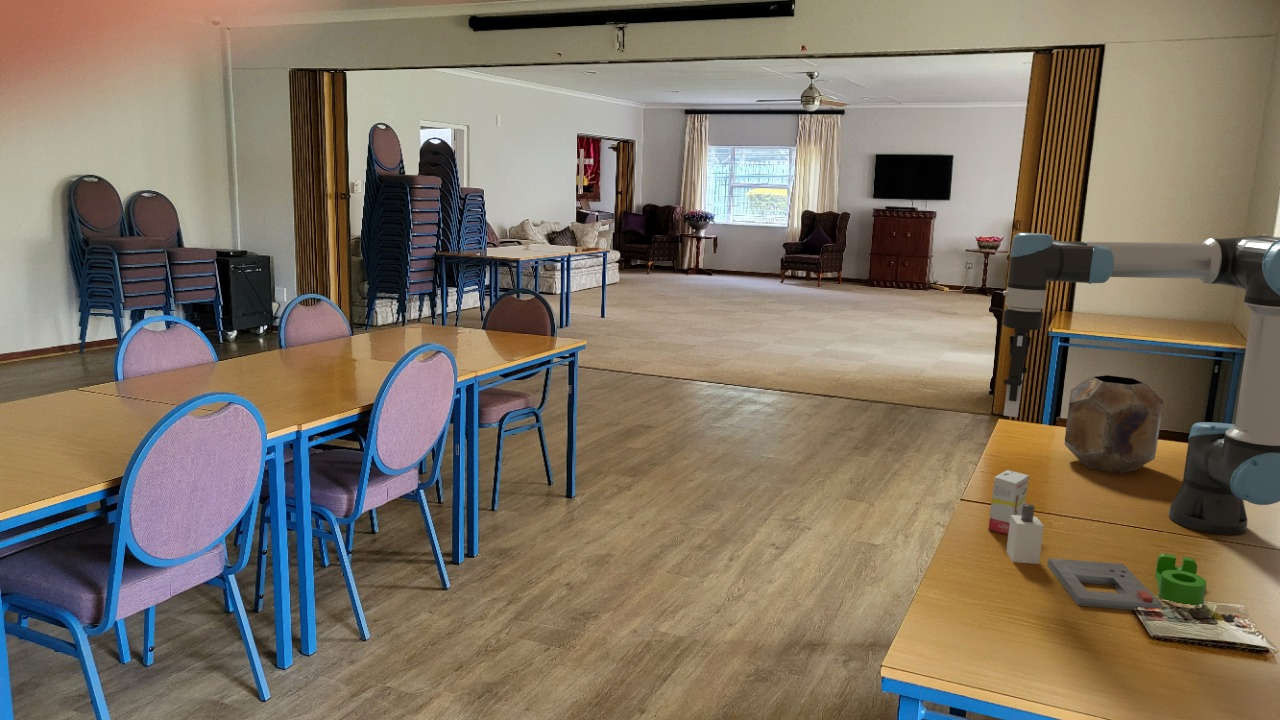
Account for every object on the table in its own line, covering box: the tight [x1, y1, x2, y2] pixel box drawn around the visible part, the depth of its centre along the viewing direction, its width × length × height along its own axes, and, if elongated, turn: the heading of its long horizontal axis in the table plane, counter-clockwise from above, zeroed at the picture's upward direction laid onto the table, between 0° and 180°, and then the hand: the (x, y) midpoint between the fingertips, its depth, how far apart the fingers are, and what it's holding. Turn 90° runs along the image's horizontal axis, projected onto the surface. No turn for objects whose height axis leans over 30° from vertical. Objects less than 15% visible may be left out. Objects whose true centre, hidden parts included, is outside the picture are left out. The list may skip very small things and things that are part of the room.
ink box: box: [987, 469, 1030, 536], centre depth 204 cm, size 9×5×12 cm, turn 139°
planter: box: [1064, 374, 1164, 474], centre depth 252 cm, size 22×24×24 cm
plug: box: [1006, 503, 1044, 565], centre depth 187 cm, size 5×5×11 cm
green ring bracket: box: [1154, 553, 1208, 605], centre depth 174 cm, size 15×7×5 cm, turn 156°
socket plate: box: [1047, 557, 1163, 611], centre depth 175 cm, size 14×18×2 cm
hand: (1011, 409), depth 197 cm, fingers open, 13 cm apart
